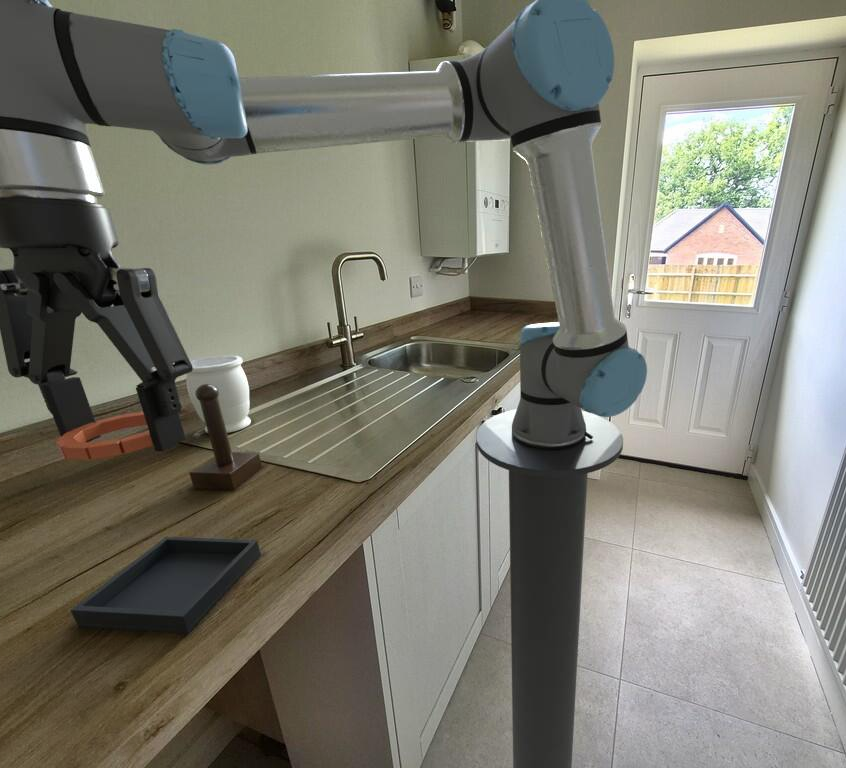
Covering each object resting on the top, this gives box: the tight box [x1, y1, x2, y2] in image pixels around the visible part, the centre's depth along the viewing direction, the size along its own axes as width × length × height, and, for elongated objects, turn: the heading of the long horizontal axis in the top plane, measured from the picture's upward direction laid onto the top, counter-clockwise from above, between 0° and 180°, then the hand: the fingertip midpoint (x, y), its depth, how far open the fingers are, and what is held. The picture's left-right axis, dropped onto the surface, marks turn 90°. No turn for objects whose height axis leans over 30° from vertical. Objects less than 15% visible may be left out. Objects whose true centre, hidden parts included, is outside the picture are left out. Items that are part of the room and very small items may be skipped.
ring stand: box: [189, 384, 263, 491], centre depth 67 cm, size 7×7×17 cm
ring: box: [55, 411, 154, 461], centre depth 41 cm, size 9×9×1 cm
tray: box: [70, 536, 261, 635], centre depth 47 cm, size 12×11×2 cm
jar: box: [185, 355, 252, 434], centre depth 87 cm, size 11×10×15 cm
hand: (126, 443), depth 41 cm, fingers closed on ring, 9 cm apart
